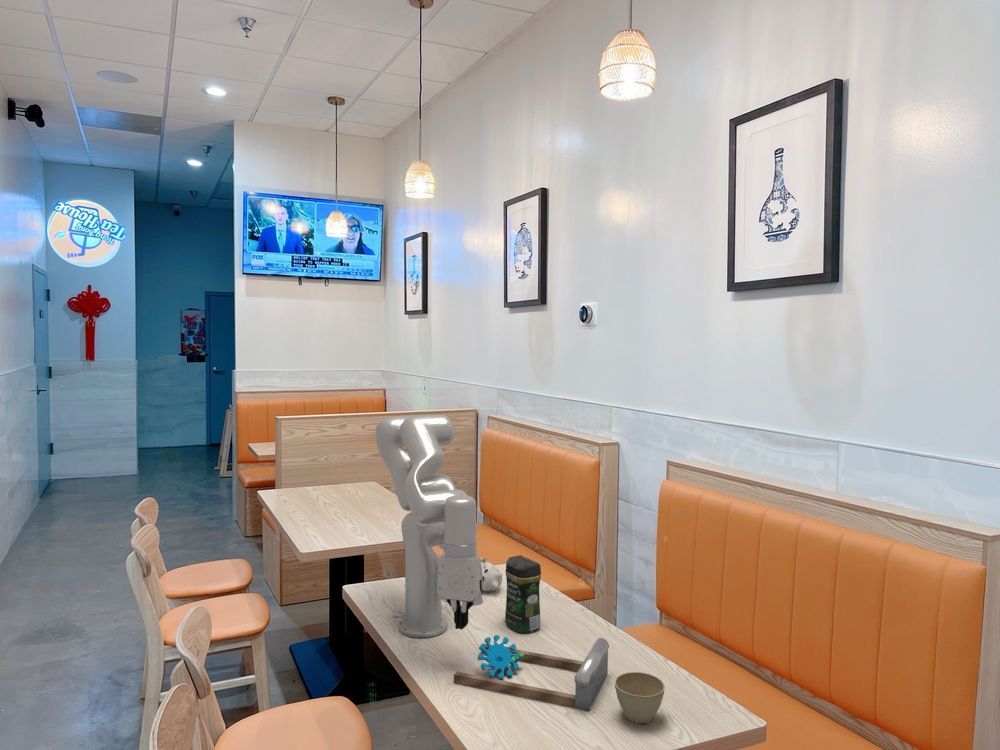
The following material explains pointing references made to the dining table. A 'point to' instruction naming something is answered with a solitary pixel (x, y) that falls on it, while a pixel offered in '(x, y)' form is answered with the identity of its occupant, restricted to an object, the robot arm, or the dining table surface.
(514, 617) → the coffee jar
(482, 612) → the dining table surface
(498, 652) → the gear
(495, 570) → the cat figurine
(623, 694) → the flower pot
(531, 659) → the guide
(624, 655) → the dining table surface
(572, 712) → the dining table surface
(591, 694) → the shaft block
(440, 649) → the dining table surface
